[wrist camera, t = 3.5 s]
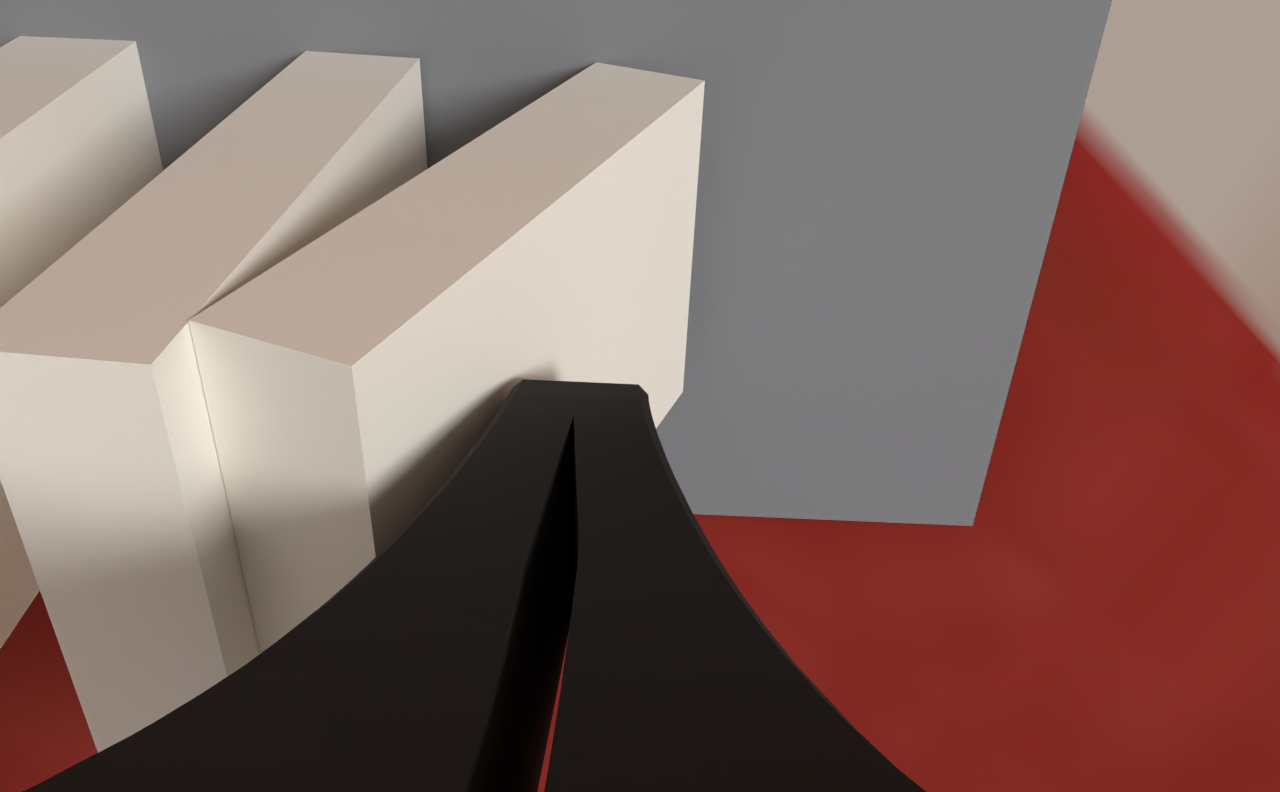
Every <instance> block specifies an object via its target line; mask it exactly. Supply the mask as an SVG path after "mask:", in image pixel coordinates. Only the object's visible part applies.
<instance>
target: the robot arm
mask: <svg viewBox="0 0 1280 792" xmlns="http://www.w3.org/2000/svg"><path fill="white" fill-rule="evenodd" d="M568 633H569V635H568ZM567 638H568V643H567ZM566 643H567V650H566V657H565V664H564V671H563V678H562V686H561V692H560V699H559V705H558V711H557V718H556V724H555V731H554V737H553V744H552V750H551V757H550V763H549V768H548V774H547V780H546V785H545V791H544V792H926V791H924V790H923V789H922V788H921V787H920V786H918V785H917V784H916V783H915V782H913V781H912V780H911V779H910V778H908V777H907V776H906V775H905V774H903V773H902V772H901V771H900V770H899V769H897V768H896V767H895V766H894V765H893V764H892V763H891V762H890V761H889V760H888V759H887V758H886V757H885V756H884V755H883V754H882V753H881V752H879V751H878V750H877V749H876V748H875V747H874V746H873V745H872V744H871V743H870V742H869V741H868V740H867V739H866V738H865V737H864V736H863V735H861V734H860V733H859V732H858V731H857V730H856V729H855V728H854V727H853V726H852V724H851V723H850V722H849V721H848V720H847V719H846V718H845V717H844V716H843V715H842V714H841V713H840V712H839V710H838V709H837V708H836V707H835V706H834V705H833V704H832V703H831V702H830V701H829V700H828V699H827V698H826V697H825V695H824V694H823V693H822V692H821V691H820V690H819V689H818V688H817V687H816V686H815V685H814V684H813V683H812V681H811V680H810V679H809V678H808V677H807V676H806V675H805V674H804V673H803V672H802V671H801V670H800V669H799V667H798V666H797V665H796V664H795V663H794V662H793V660H792V659H791V658H790V657H789V655H788V654H787V653H786V652H785V650H784V649H783V648H782V647H781V645H780V644H779V643H778V642H777V641H776V639H775V638H774V637H773V636H772V634H771V633H770V632H769V631H768V629H767V628H766V627H765V625H764V624H763V623H762V621H761V620H760V619H759V617H758V616H757V614H756V613H755V612H754V610H753V609H752V608H751V606H750V605H749V604H748V602H747V601H746V599H745V598H744V597H743V595H742V594H741V592H740V591H739V589H738V588H737V586H736V585H735V583H734V582H733V580H732V579H731V577H730V576H729V574H728V573H727V571H726V569H725V568H724V566H723V565H722V563H721V562H720V560H719V558H718V557H717V555H716V553H715V551H714V550H713V548H712V546H711V545H710V543H709V541H708V540H707V538H706V536H705V535H704V533H703V531H702V529H701V527H700V526H699V524H698V522H697V520H696V518H695V516H694V515H693V513H692V511H691V509H690V507H689V505H688V503H687V501H686V498H685V496H684V494H683V492H682V490H681V488H680V486H679V484H678V482H677V480H676V478H675V476H674V474H673V471H672V469H671V467H670V465H669V462H668V460H667V457H666V455H665V452H664V450H663V447H662V444H661V442H660V439H659V437H658V434H657V431H656V428H655V424H654V421H653V417H652V414H651V409H650V405H649V396H648V394H647V393H646V392H645V391H644V389H643V388H642V387H641V386H640V385H639V384H617V383H595V382H572V381H549V380H527V379H523V380H522V381H520V382H519V383H518V384H517V385H515V386H514V387H513V388H512V390H511V391H510V393H509V395H508V396H507V398H506V400H505V401H504V403H503V404H502V406H501V408H500V409H499V411H498V412H497V414H496V415H495V417H494V418H493V420H492V421H491V422H490V424H489V425H488V427H487V428H486V430H485V431H484V432H483V434H482V435H481V436H480V438H479V439H478V440H477V442H476V443H475V445H474V446H473V447H472V449H471V450H470V451H469V453H468V454H467V455H466V456H465V458H464V459H463V460H462V461H461V463H460V464H459V465H458V466H457V467H456V469H455V470H454V471H453V472H452V474H451V475H450V476H449V477H448V479H447V480H446V481H445V482H444V484H443V485H442V486H441V487H440V489H439V490H438V491H437V492H436V493H435V494H434V496H433V497H432V498H431V499H430V500H429V501H428V502H427V503H426V505H425V506H424V507H423V508H422V509H421V510H420V511H419V512H418V513H417V514H416V515H415V516H414V518H413V519H412V520H411V521H410V522H409V523H408V524H407V525H406V526H405V527H404V528H403V529H402V530H401V532H400V533H399V534H398V535H397V536H396V537H395V538H394V539H393V540H392V541H391V542H390V543H389V544H388V545H387V546H386V547H385V548H384V549H383V550H382V551H381V552H380V553H379V554H378V555H377V556H376V557H375V558H374V559H373V560H372V561H371V562H370V563H369V564H368V565H367V566H366V567H365V568H364V569H363V570H362V571H360V572H359V573H358V574H357V575H356V576H355V577H354V578H353V579H352V580H351V581H350V582H348V583H347V584H346V585H345V586H344V587H343V588H342V589H340V590H339V591H338V592H337V593H336V594H335V595H334V596H333V597H331V598H330V599H329V600H328V601H327V602H326V603H324V604H323V605H322V606H321V607H320V608H318V609H317V610H316V611H315V612H313V613H312V614H311V615H310V616H308V617H307V618H306V619H305V620H303V621H302V622H301V623H299V624H298V625H297V626H296V627H294V628H293V629H292V630H291V631H289V632H288V633H287V634H286V635H284V636H283V637H282V638H281V639H279V640H278V641H277V642H275V643H274V644H273V645H271V646H270V647H269V648H267V649H266V650H265V651H263V652H262V653H261V654H259V655H258V656H257V657H255V658H254V659H252V660H251V661H250V662H248V663H247V664H245V665H244V666H243V667H241V668H240V669H238V670H237V671H235V672H234V673H232V674H230V675H229V676H227V677H226V678H224V679H223V680H221V681H220V682H218V683H217V684H215V685H214V686H212V687H211V688H209V689H208V690H206V691H204V692H203V693H201V694H200V695H198V696H196V697H195V698H193V699H192V700H190V701H188V702H187V703H185V704H183V705H182V706H180V707H178V708H177V709H175V710H173V711H172V712H170V713H169V714H167V715H165V716H164V717H162V718H160V719H159V720H157V721H155V722H154V723H152V724H150V725H148V726H147V727H145V728H143V729H141V730H140V731H138V732H136V733H134V734H133V735H131V736H129V737H127V738H125V739H123V740H121V741H120V742H118V743H116V744H114V745H112V746H110V747H108V748H106V749H104V750H102V751H101V752H99V753H97V754H95V755H93V756H91V757H89V758H87V759H85V760H83V761H81V762H80V763H78V764H76V765H74V766H72V767H70V768H68V769H66V770H64V771H62V772H61V773H59V774H57V775H55V776H53V777H51V778H49V779H47V780H45V781H43V782H41V783H40V784H37V785H35V786H33V787H31V788H29V789H27V790H25V791H23V792H537V790H538V785H539V780H540V775H541V770H542V765H543V760H544V755H545V750H546V745H547V740H548V735H549V730H550V725H551V720H552V715H553V710H554V704H555V699H556V694H557V689H558V684H559V679H560V674H561V669H562V664H563V659H564V654H565V648H566Z"/></svg>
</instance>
